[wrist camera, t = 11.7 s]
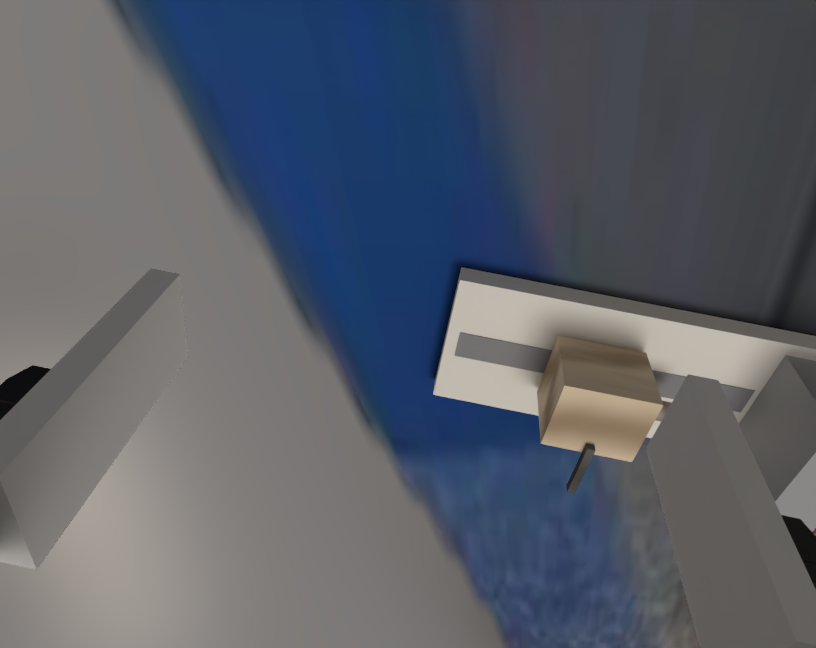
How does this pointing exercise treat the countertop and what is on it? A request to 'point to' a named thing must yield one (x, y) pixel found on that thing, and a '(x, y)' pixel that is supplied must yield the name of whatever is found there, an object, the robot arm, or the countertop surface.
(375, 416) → the countertop surface
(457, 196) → the countertop surface
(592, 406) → the gauge carriage
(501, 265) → the countertop surface
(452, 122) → the countertop surface
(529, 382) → the bench
